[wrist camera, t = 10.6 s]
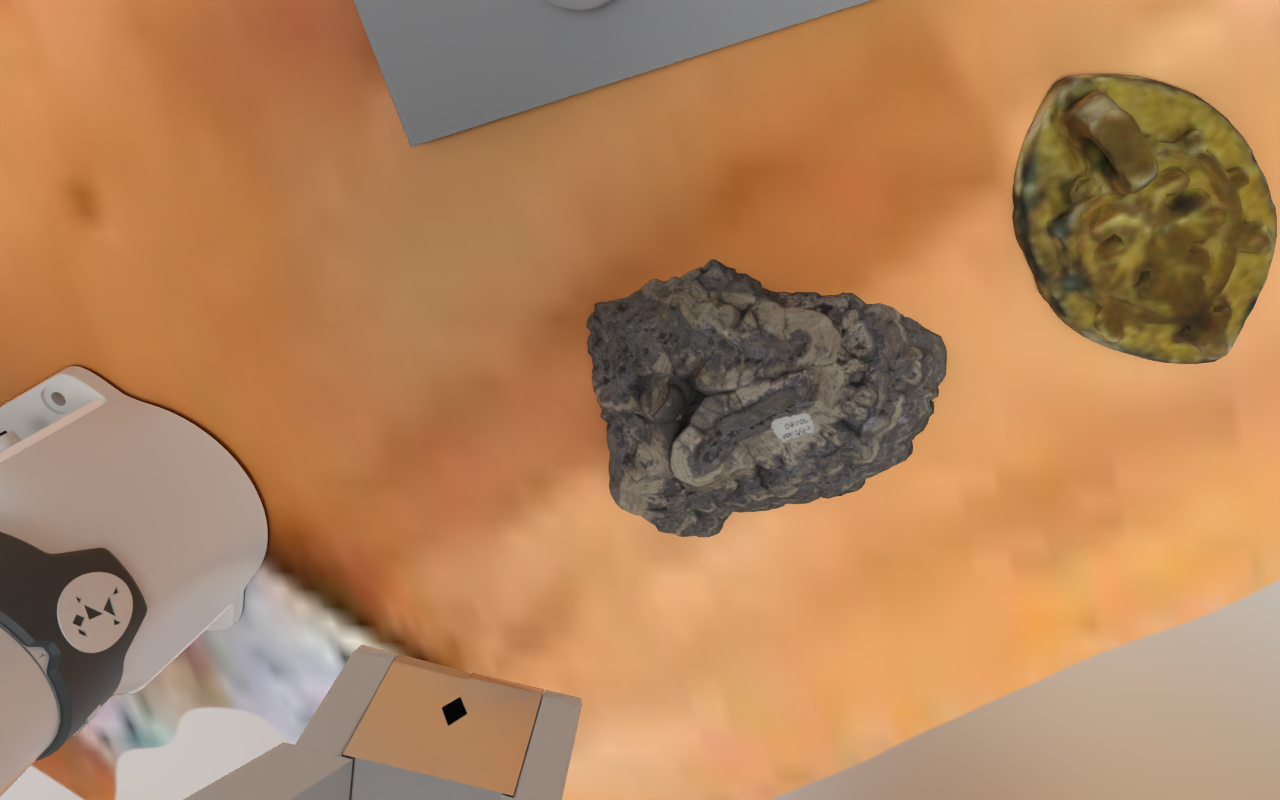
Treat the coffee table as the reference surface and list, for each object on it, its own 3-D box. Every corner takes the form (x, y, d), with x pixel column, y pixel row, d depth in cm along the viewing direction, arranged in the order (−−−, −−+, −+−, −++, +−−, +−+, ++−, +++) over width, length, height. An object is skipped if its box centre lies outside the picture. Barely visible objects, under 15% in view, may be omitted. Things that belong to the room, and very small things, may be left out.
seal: (1301, 279, 35) (1140, 6, 31) (1393, 305, 31) (1219, -9, 27) (1115, 403, 37) (945, 164, 33) (1176, 444, 33) (987, 175, 29)
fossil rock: (518, 342, 40) (657, 555, 45) (497, 370, 36) (650, 598, 41) (861, 159, 34) (979, 425, 39) (875, 172, 31) (1003, 462, 36)
